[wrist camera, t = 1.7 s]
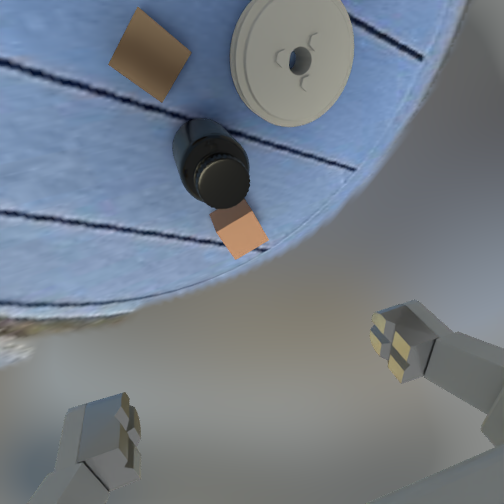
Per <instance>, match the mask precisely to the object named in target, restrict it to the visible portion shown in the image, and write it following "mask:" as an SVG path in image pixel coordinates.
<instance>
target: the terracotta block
mask: <svg viewBox="0 0 504 504" xmlns="http://www.w3.org/2000/svg"><path fill="white" fill-rule="evenodd" d="M209 215H210V217H211V220H212V222H213V225H214V228H215V230H216V233H217V234H218V235H219V237H220V238H221V240H222V241H223V243H224V244H225V246H226V247H227V248H228V250H229V251H230V253H231V254H232V256H233V257H234V258H235V260H236V259H238V258H240V257H241V256H243V255H245V254H246V253H248V252H250V251H251V250H253V249H255V248H257V247H258V246H260V245H262V244H263V243H265V242H267V241H268V240H269V239H268V238H267V236H266V234H265V232H264V231H263V229H262V227H261V225H260V224H259V222H258V220H257V218H256V217H255V215H254V213H253V211H252V210H251V208H250V207H249V205H248V203H247V202H246V200H245V199H244V200H242V201H241V202H240V203H239V204H237V205H236V206H233V207H232V208H228V209H217V210H216V211H214V212H212V213H211V214H209Z"/></svg>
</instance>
